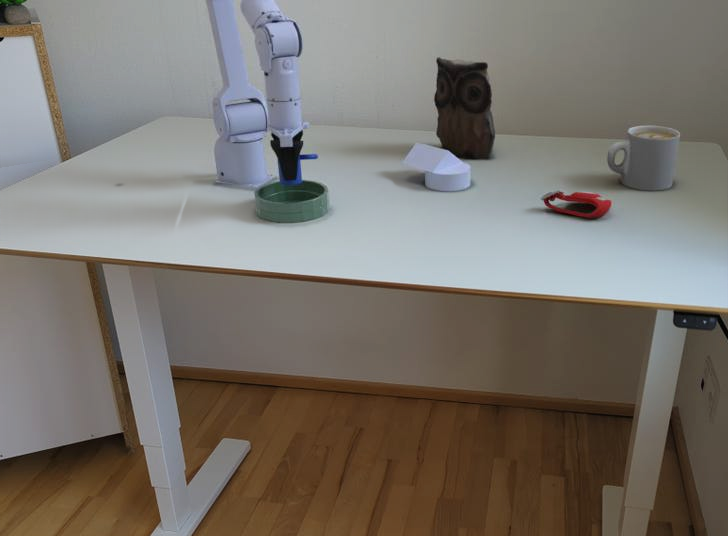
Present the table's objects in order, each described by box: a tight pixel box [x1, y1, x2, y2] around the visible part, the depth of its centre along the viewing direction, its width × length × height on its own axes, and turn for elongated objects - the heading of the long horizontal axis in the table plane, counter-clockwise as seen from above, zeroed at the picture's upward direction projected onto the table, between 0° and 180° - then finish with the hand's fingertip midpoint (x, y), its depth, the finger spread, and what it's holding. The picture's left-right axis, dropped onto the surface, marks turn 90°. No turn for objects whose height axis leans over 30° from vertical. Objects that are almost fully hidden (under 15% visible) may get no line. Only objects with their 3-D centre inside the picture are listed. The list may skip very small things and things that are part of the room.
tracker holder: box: [540, 189, 612, 219], centre depth 144 cm, size 12×4×10 cm
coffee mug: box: [606, 125, 681, 192], centre depth 156 cm, size 13×10×10 cm
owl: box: [433, 56, 496, 160], centre depth 172 cm, size 13×13×20 cm
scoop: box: [276, 153, 319, 185], centre depth 142 cm, size 7×4×5 cm, turn 98°
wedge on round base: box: [401, 141, 472, 192], centre depth 158 cm, size 9×7×13 cm
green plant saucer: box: [253, 179, 330, 224], centre depth 145 cm, size 13×13×4 cm
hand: (290, 175), depth 142 cm, fingers closed on scoop, 4 cm apart
